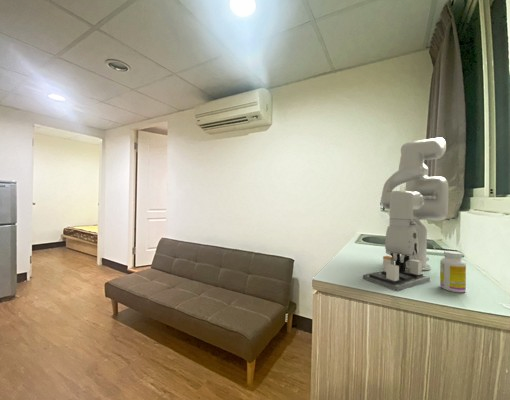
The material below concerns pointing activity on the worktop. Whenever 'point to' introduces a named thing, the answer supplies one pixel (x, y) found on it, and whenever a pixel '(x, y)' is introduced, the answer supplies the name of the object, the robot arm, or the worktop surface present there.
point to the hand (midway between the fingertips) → (400, 271)
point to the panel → (404, 280)
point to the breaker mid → (387, 261)
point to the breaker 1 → (392, 272)
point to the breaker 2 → (415, 267)
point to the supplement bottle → (453, 272)
